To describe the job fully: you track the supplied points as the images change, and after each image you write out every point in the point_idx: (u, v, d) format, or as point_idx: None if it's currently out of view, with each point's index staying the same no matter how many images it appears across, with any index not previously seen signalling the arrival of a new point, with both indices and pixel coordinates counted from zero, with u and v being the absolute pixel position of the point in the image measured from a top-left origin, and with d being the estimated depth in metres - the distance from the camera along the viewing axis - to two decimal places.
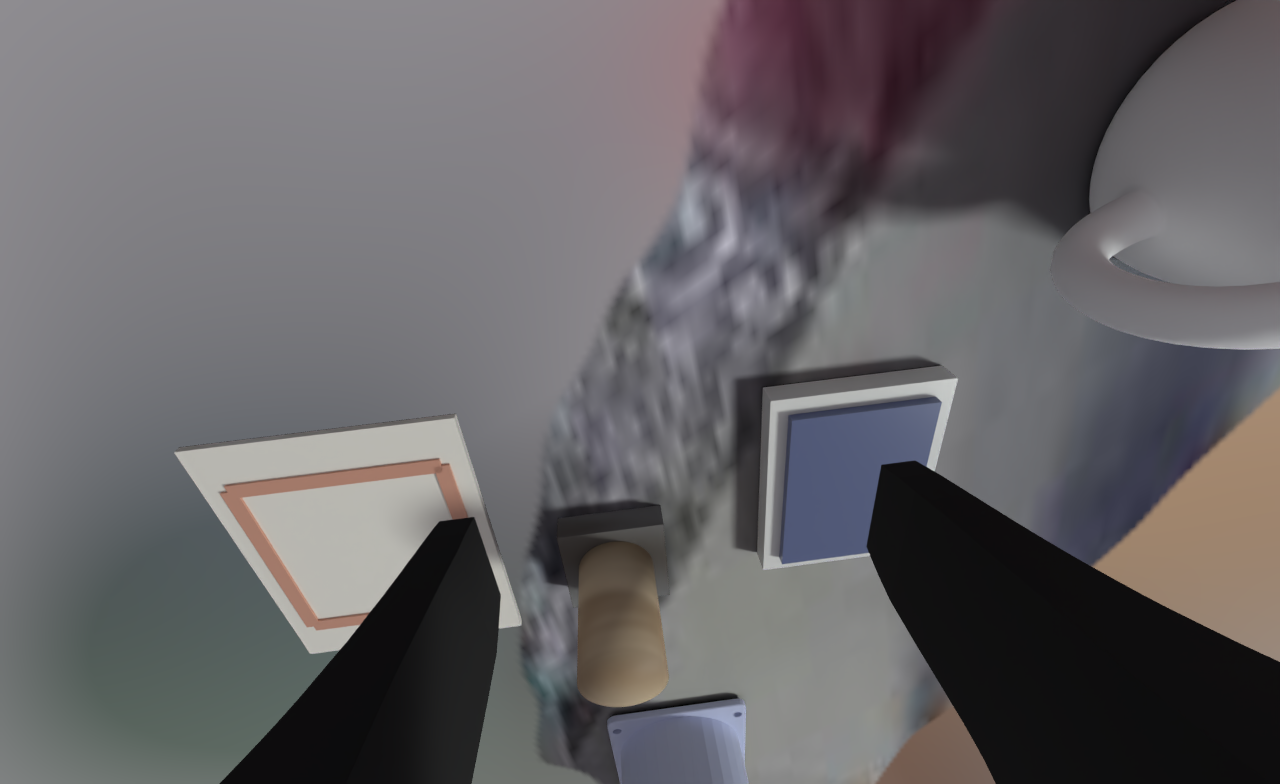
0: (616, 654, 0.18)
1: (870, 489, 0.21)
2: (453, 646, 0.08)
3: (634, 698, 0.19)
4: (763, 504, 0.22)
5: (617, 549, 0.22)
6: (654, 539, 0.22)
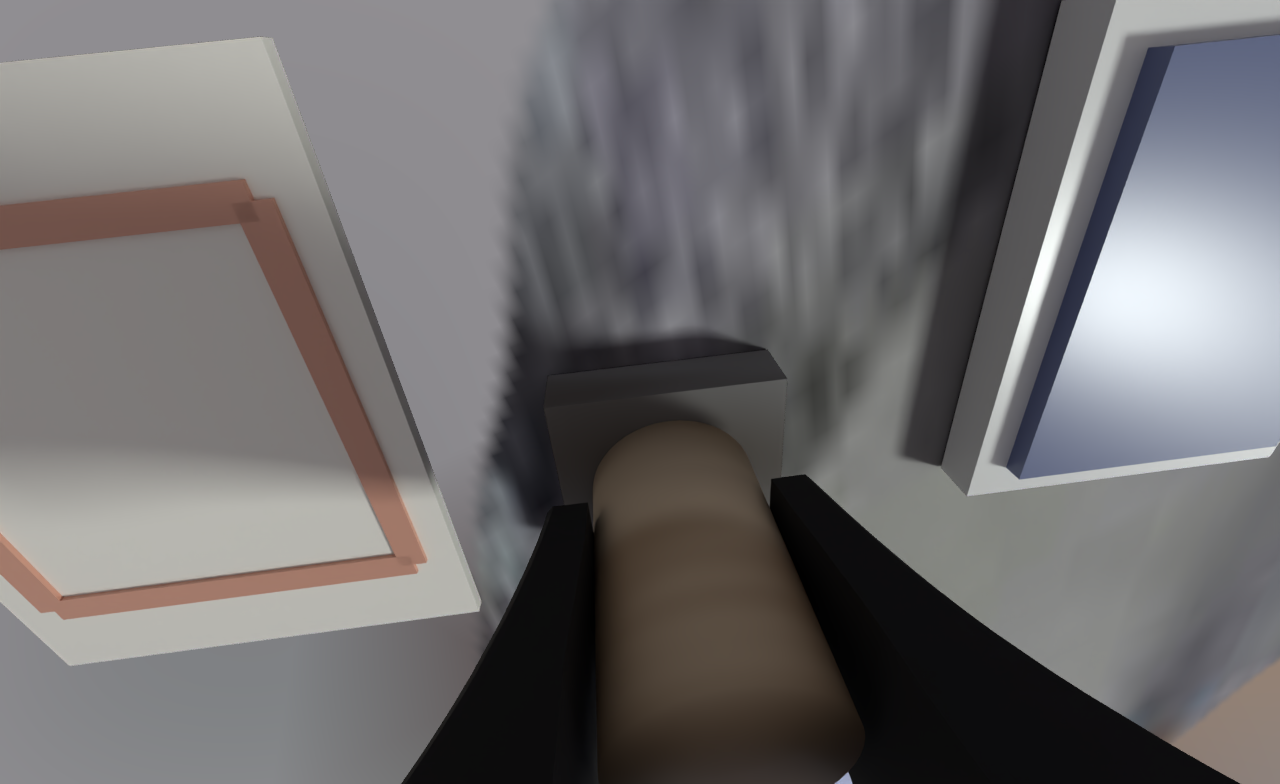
0: (724, 690, 0.06)
1: (1269, 289, 0.09)
2: (587, 627, 0.08)
3: None
4: (998, 340, 0.10)
5: (683, 434, 0.09)
6: (761, 418, 0.10)
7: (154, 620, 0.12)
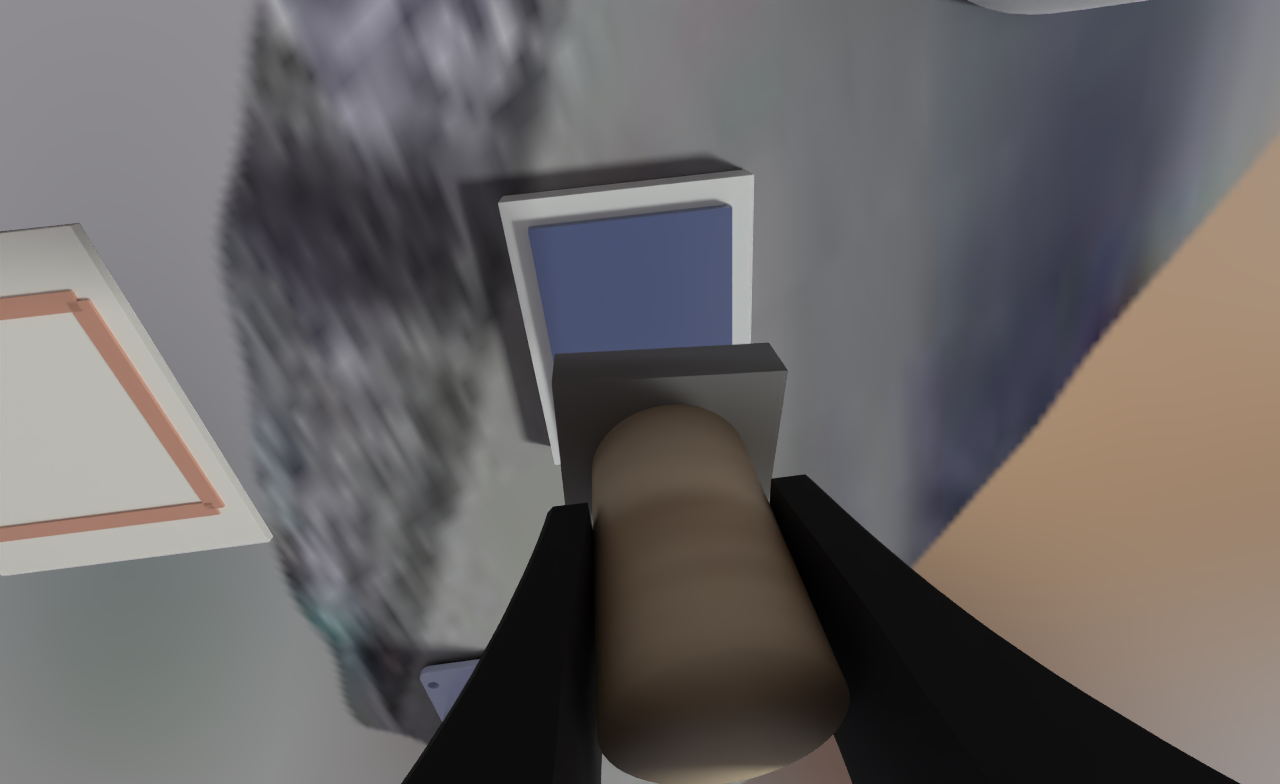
0: (726, 649, 0.06)
1: (663, 343, 0.16)
2: (588, 628, 0.08)
3: (738, 766, 0.07)
4: (536, 370, 0.17)
5: (685, 417, 0.10)
6: (760, 406, 0.10)
7: (54, 545, 0.20)
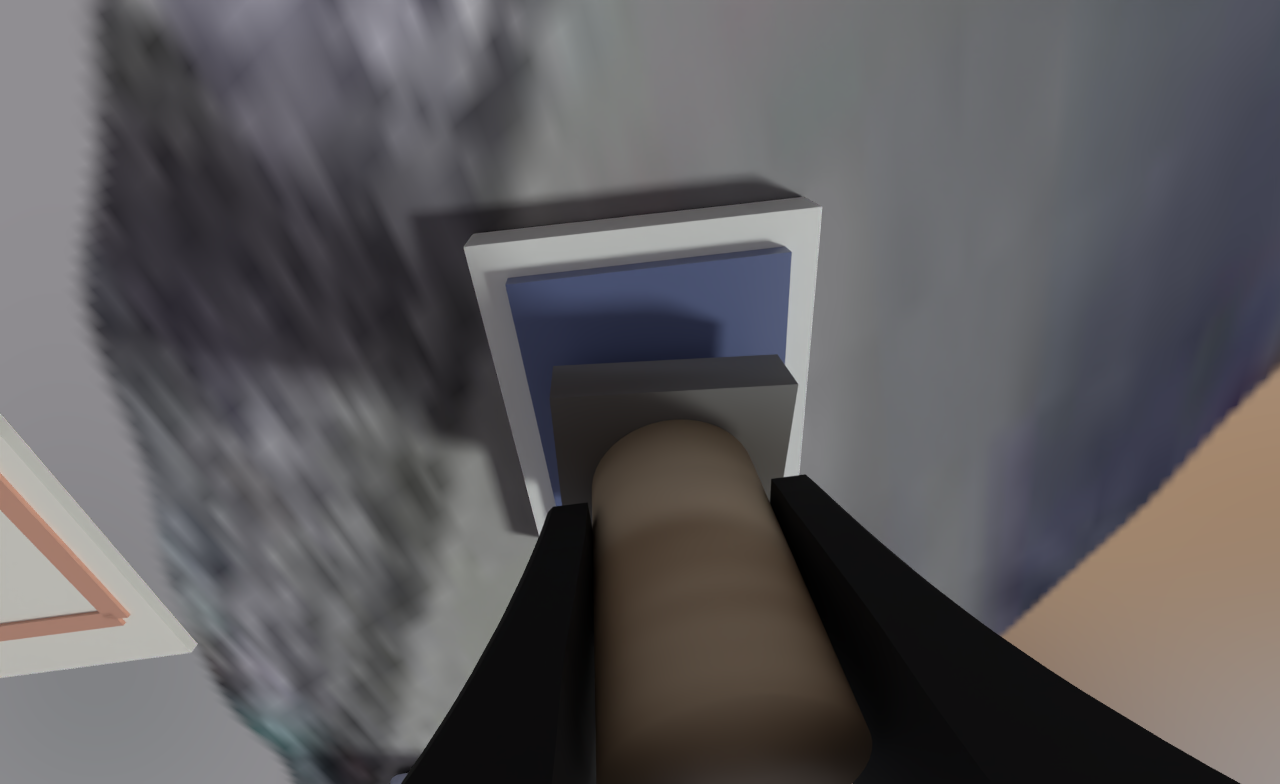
0: (738, 697, 0.05)
1: None
2: (587, 628, 0.08)
3: None
4: (521, 456, 0.13)
5: (690, 433, 0.09)
6: (769, 422, 0.10)
7: None
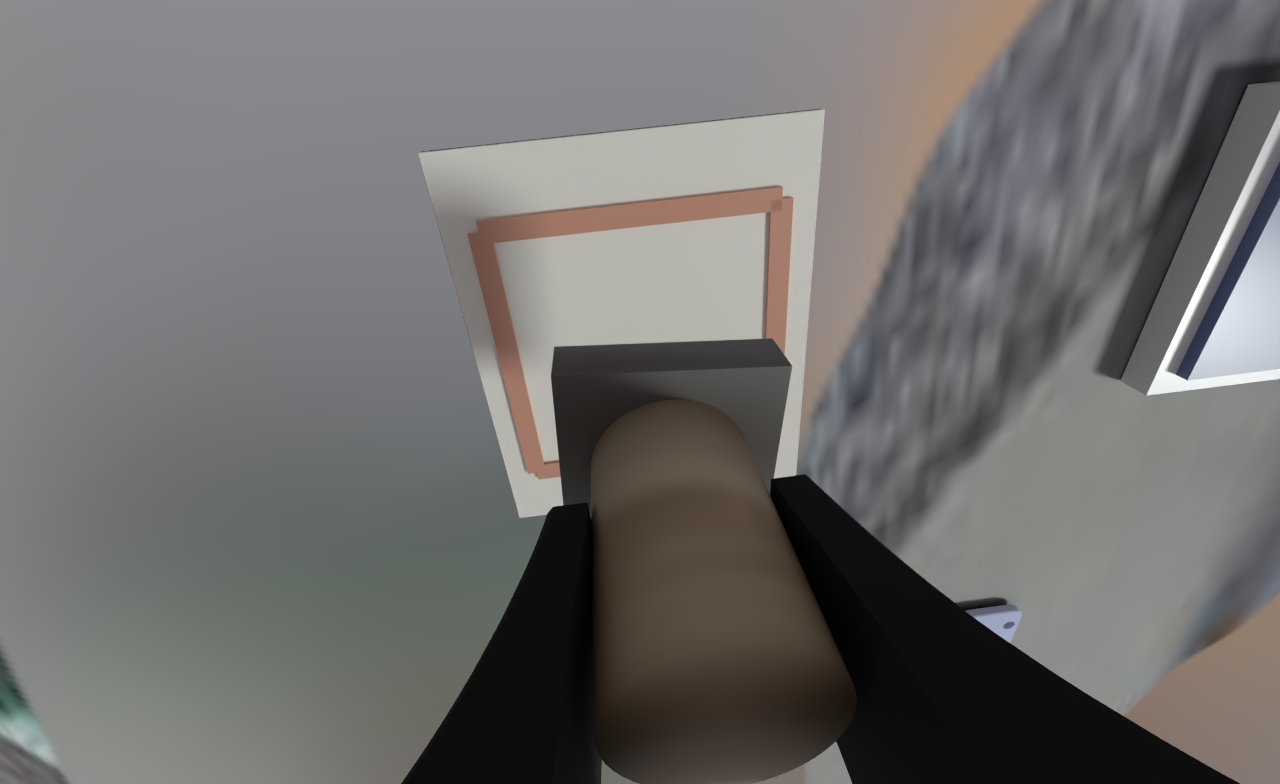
0: (730, 648, 0.06)
1: None
2: (588, 627, 0.08)
3: (740, 771, 0.07)
4: (1183, 287, 0.16)
5: (687, 412, 0.10)
6: (763, 403, 0.10)
7: None
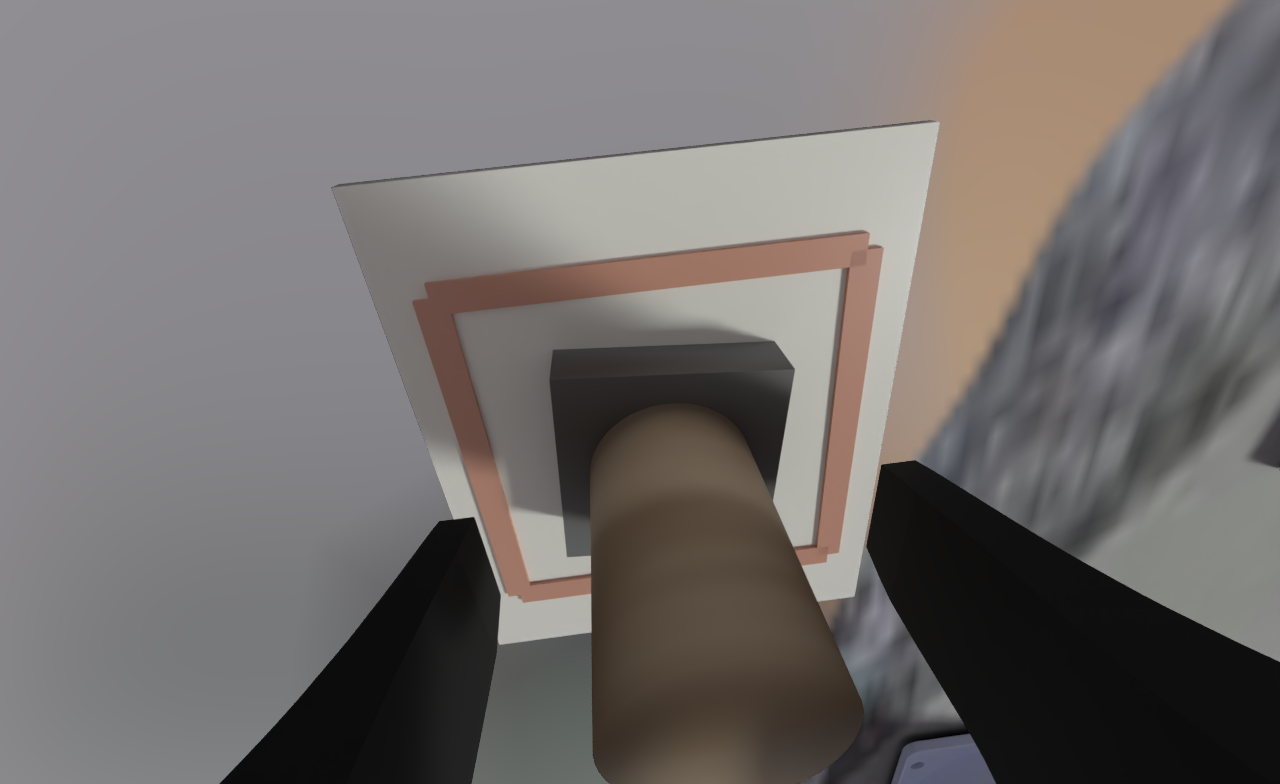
0: (734, 661, 0.05)
1: None
2: (453, 646, 0.08)
3: None
4: None
5: (688, 416, 0.09)
6: (765, 407, 0.10)
7: (590, 604, 0.14)
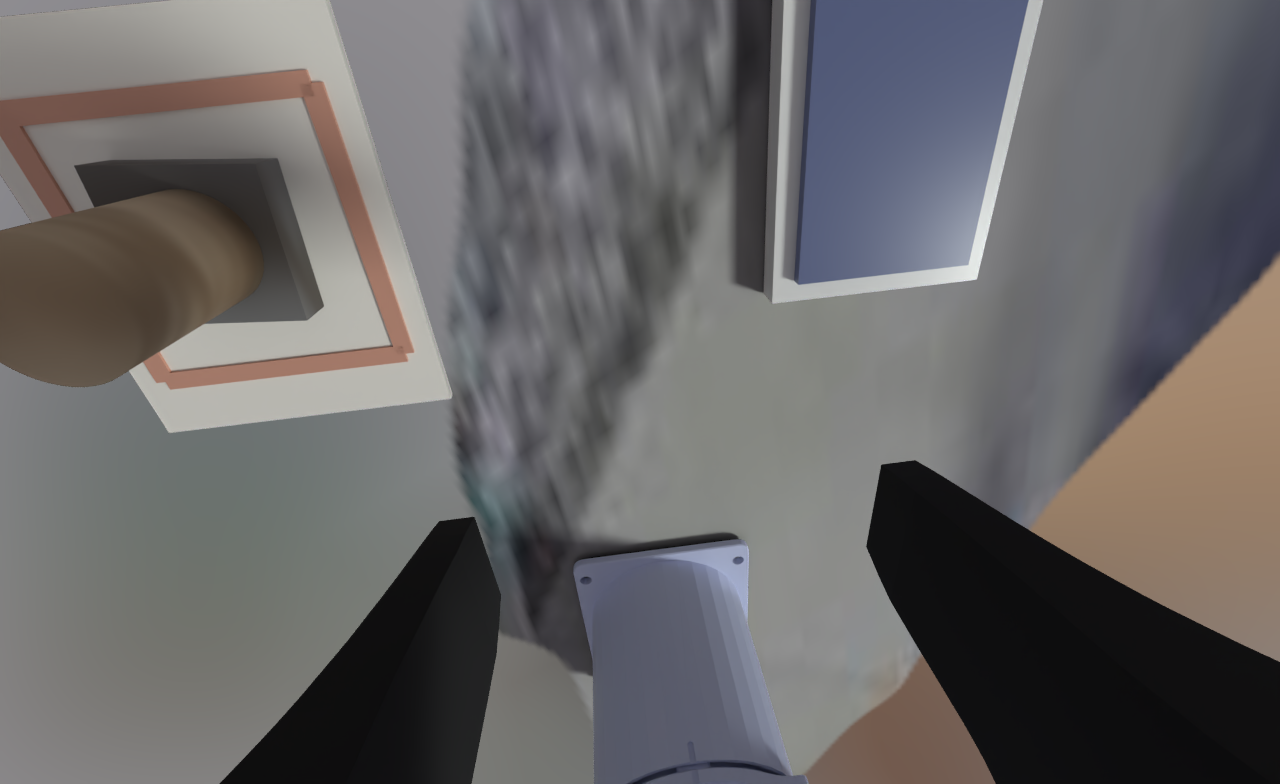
0: None
1: (924, 146, 0.15)
2: (453, 646, 0.08)
3: (87, 368, 0.11)
4: (773, 186, 0.16)
5: (173, 193, 0.14)
6: (248, 195, 0.14)
7: (230, 395, 0.18)
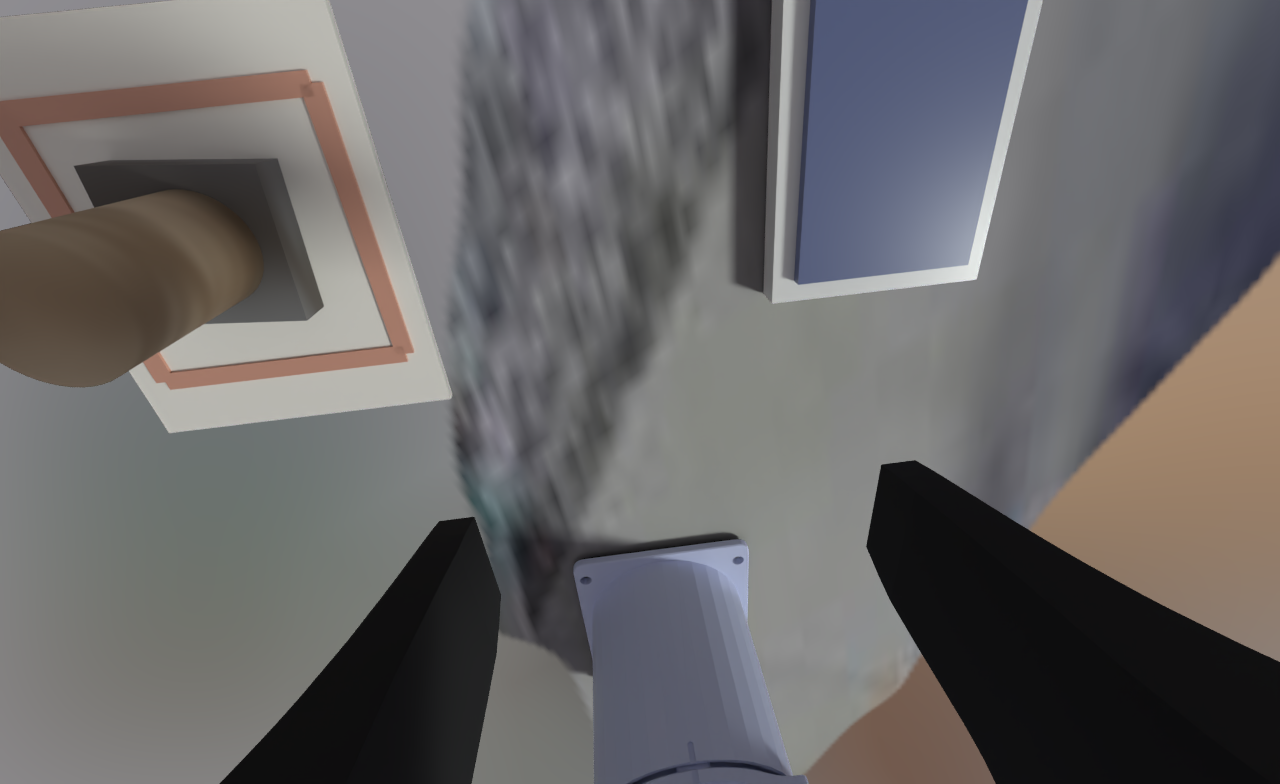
0: None
1: (923, 146, 0.15)
2: (453, 646, 0.08)
3: (87, 368, 0.11)
4: (772, 186, 0.16)
5: (173, 193, 0.14)
6: (247, 195, 0.14)
7: (229, 395, 0.18)
